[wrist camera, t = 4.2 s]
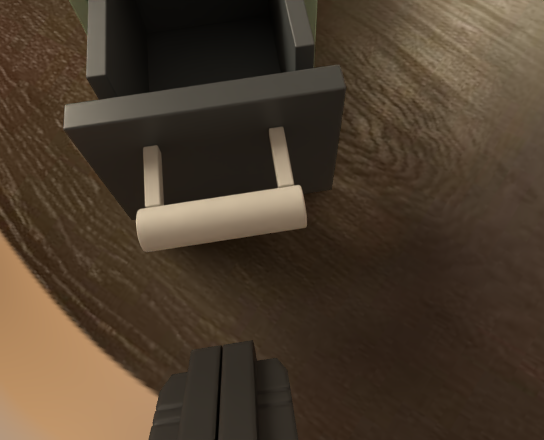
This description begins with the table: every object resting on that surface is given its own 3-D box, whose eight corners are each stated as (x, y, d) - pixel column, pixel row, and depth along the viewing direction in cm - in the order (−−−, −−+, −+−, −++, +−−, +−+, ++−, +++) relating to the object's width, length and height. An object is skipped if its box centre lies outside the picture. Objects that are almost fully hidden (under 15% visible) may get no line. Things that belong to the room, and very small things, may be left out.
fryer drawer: (350, 268, 22) (375, 190, 15) (133, 302, 22) (56, 239, 15) (292, 17, 29) (291, -116, 22) (127, 41, 29) (73, -85, 22)
